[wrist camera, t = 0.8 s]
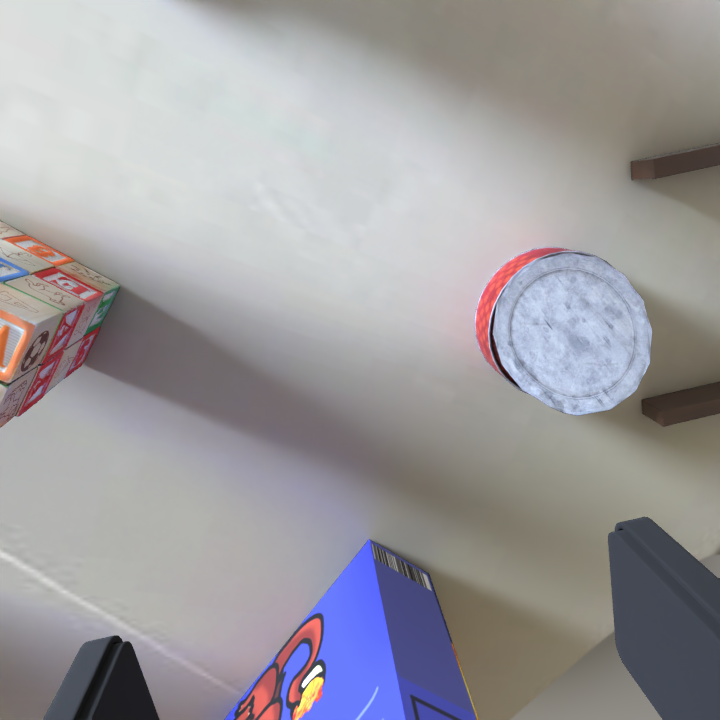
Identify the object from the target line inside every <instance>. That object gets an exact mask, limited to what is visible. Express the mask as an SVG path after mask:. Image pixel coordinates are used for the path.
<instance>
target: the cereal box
mask: <svg viewBox="0 0 720 720" xmlns="http://www.w3.org/2000/svg"><path fill="white" fill-rule="evenodd" d="M225 720H479V719H478V716H477V713H476V710H475V707H474V704H473V701H472V698H471V696H470V693H469V690H468V687H467V684H466V681H465V678H464V675H463V672H462V669H461V666H460V663H459V660H458V657H457V654H456V651H455V649H454V646H453V643H452V640H451V637H450V634H449V631H448V628H447V625H446V622H445V619H444V616H443V613H442V610H441V607H440V605H439V602H438V599H437V596H436V593H435V590H434V587H433V584H432V581H431V578H430V575H429V574H428V573H426V572H425V571H423V570H421V569H420V568H418V567H416V566H414V565H413V564H411V563H409V562H407V561H406V560H404V559H402V558H401V557H399V556H397V555H395V554H394V553H392V552H390V551H389V550H387V549H385V548H383V547H382V546H380V545H378V544H376V543H375V542H373V541H371V540H370V539H369V540H368V542H367V543H366V544H365V545H364V547H363V548H362V549H361V550H360V552H359V553H358V554H357V555H356V557H355V558H354V559H353V560H352V562H351V563H350V564H349V565H348V567H347V568H346V569H345V570H344V571H343V573H342V574H341V575H340V576H339V578H338V579H337V580H336V581H335V583H334V584H333V585H332V586H331V588H330V589H329V590H328V591H327V593H326V594H325V595H324V596H323V598H322V599H321V600H320V601H319V603H318V604H317V605H316V606H315V608H314V609H313V610H312V611H311V613H310V614H309V615H308V616H307V618H306V619H305V620H304V621H303V622H302V624H301V625H300V626H299V627H298V629H297V630H296V631H295V632H294V634H293V635H292V636H291V637H290V639H289V640H288V641H287V642H286V644H285V645H284V646H283V647H282V649H281V650H280V651H279V652H278V654H277V655H276V656H275V657H274V659H273V660H272V661H271V662H270V664H269V665H268V666H267V667H266V669H265V670H264V671H263V672H262V673H261V675H260V676H259V677H258V678H257V680H256V681H255V682H254V683H253V685H252V686H251V687H250V688H249V690H248V691H247V692H246V693H245V695H244V696H243V697H242V698H241V700H240V701H239V702H238V703H237V705H236V706H235V707H234V708H233V710H232V711H231V712H230V713H229V715H228V716H227V717H226V718H225Z"/></svg>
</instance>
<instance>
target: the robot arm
mask: <svg viewBox="0 0 720 720" xmlns="http://www.w3.org/2000/svg"><path fill="white" fill-rule="evenodd" d="M608 545H609V558H610V572H611V586H612V599H613V613H614V627H615V640H616V647H617V650H618V653H619V656H620V658H621V660H622V662H623V664H624V665H625V667H626V668H627V670H628V671H629V672H630V674H631V675H632V677H633V678H634V680H635V681H636V682H637V684H638V685H639V686H640V688H641V689H642V691H643V692H644V694H645V695H646V697H647V698H648V699H649V701H650V702H651V703H652V705H653V706H654V708H655V709H656V711H657V712H658V713H659V715H660V716H661V718H662V719H663V720H720V578H717V577H716V576H715V575H714V574H713V573H712V572H710V571H709V570H708V569H707V568H706V567H705V566H703V565H702V564H701V563H700V562H699V561H698V560H697V559H696V558H695V557H693V556H692V555H691V554H690V553H689V552H688V551H687V550H685V549H684V548H683V547H682V546H681V545H680V544H679V543H678V542H676V541H675V540H674V539H673V538H672V537H671V536H670V535H668V534H667V533H666V532H665V531H664V530H663V529H662V528H661V527H659V526H658V525H657V524H656V523H655V522H654V521H653V520H651V519H650V518H648V517H641V518H637V519H633V520H628V521H624V522H619V523H617V524H616V526H615V532H611V533H609V535H608ZM43 720H159V717H158V714H157V712H156V709H155V706H154V703H153V701H152V698H151V695H150V693H149V690H148V687H147V684H146V682H145V679H144V676H143V673H142V671H141V668H140V665H139V662H138V660H137V657H136V654H135V652H134V649H133V646H132V644H131V643H130V642H129V641H126V642H123V641H122V639H121V638H120V637H119V636H110V637H106V638H102V639H97V640H93V641H88V642H86V643H84V644H83V645H82V647H81V648H80V650H79V652H78V654H77V655H76V657H75V659H74V661H73V663H72V665H71V667H70V669H69V671H68V673H67V675H66V677H65V678H64V680H63V682H62V684H61V686H60V688H59V690H58V692H57V694H56V696H55V698H54V700H53V701H52V703H51V705H50V707H49V709H48V711H47V713H46V715H45V717H44V719H43Z"/></svg>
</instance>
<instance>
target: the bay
mask: <svg viewBox="0 0 720 720" xmlns="http://www.w3.org/2000/svg"><path fill="white" fill-rule="evenodd" d="M717 165H720V143H716V144H711V145H707V146H702V147H697V148H692V149H688V150H683V151H678V152H673V153H669V154H664V155H659V156H654V157H650V158H645V159H640V160H635V161H632V162H631V175H632V180H642V179H656V178H661V177H665V176H670V175H675V174H679V173H684V172H689V171H694V170H698V169H703V168H708V167H712V166H717ZM642 411H643V414H644V415H645V416H647V417H649V418H650V419H652V420H653V421H655V422H657V423H658V424H660V425H661V426H668V425H672V424H677V423H681V422H685V421H689V420H694V419H698V418H702V417H707V416H711V415H715V414H720V382H717V383H713V384H708V385H704V386H700V387H695V388H691V389H687V390H682V391H678V392H674V393H669V394H665V395H661V396H656V397H652V398H647V399H643V400H642Z"/></svg>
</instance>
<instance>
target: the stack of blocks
mask: <svg viewBox="0 0 720 720" xmlns="http://www.w3.org/2000/svg"><path fill="white" fill-rule="evenodd" d="M119 287H120V286H119V284H117V283H115V282H114V281H112V280H110V279H108V278H106V277H104V276H102V275H100V274H98V273H96V272H94V271H92V270H91V269H89V268H87V267H85V266H83V265H81V264H79V263H77V262H75V261H74V260H73V259H72V258H70V257H68V256H66V255H64V254H63V253H61V252H59V251H57V250H55V249H53V248H51V247H49V246H47V245H45V244H43V243H41V242H39V241H37V240H35V239H33V238H32V237H30V236H27V235H25V234H24V233H22V232H20V231H18V230H16V229H15V228H13V227H11V226H9V225H7V224H5V223H3V222H1V221H0V428H1V427H2V426H3V425H4V424H6V423H7V422H8V421H9V420H11V419H12V418H13V417H14V416H17V417H18V416H20V415H21V414H23V413H24V412H26V411H27V410H28V409H29V408H30V407H32V406H33V405H34V404H35V403H37V402H38V401H39V400H40V399H41V398H42V397H43V396H44V394H46V393H47V392H48V391H49V390H51V389H52V388H53V387H54V386H56V385H57V384H58V383H59V382H60V381H61V380H63V379H65V378H66V377H67V376H69V375H70V374H71V373H72V372H74V371H75V370H76V369H78V368H79V367H80V366H81V365H82V364H83V362H84V360H85V358H86V356H87V354H88V352H89V350H90V348H91V346H92V344H93V342H94V340H95V338H96V336H97V334H98V331H99V329H100V325H101V323H102V321H103V319H104V317H105V316H106V313H107V311H108V309H109V307H110V305H111V303H112V301H113V299H114V297H115V295H116V293H117V291H118V289H119Z"/></svg>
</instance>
